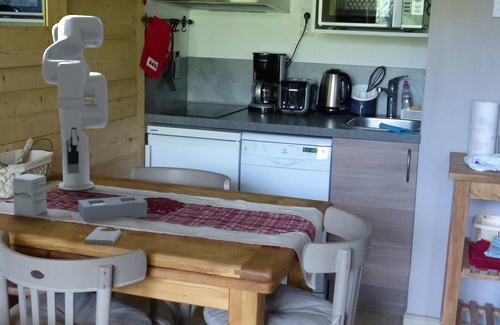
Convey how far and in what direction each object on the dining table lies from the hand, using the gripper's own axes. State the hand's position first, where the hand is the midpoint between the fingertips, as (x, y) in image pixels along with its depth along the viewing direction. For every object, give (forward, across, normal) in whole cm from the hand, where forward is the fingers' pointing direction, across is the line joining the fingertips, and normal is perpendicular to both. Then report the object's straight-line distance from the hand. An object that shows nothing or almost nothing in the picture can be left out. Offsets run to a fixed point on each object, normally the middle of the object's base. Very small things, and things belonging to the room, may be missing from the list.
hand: (72, 162), depth 205 cm
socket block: (+18, +1, +12) cm, 22 cm away
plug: (+3, 0, 0) cm, 3 cm away
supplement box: (+18, -8, -12) cm, 23 cm away
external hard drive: (+19, +21, +6) cm, 29 cm away
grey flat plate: (+18, 0, -4) cm, 18 cm away
